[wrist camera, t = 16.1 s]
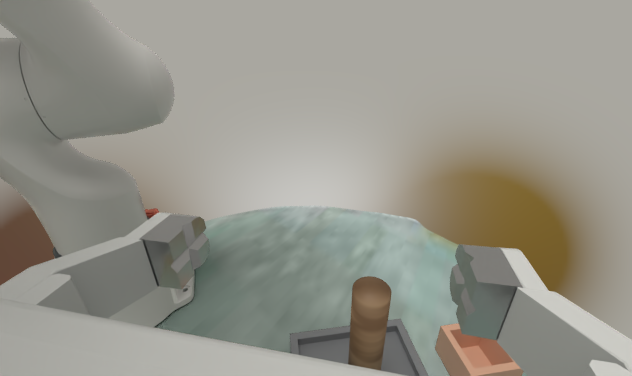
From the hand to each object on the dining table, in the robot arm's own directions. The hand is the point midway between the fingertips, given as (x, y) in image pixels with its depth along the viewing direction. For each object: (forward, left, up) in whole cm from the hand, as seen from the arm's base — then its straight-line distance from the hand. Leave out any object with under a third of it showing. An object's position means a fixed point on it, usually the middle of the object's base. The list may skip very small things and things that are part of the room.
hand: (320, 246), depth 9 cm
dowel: (-12, +7, -31) cm, 34 cm away
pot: (-13, +22, -32) cm, 41 cm away
